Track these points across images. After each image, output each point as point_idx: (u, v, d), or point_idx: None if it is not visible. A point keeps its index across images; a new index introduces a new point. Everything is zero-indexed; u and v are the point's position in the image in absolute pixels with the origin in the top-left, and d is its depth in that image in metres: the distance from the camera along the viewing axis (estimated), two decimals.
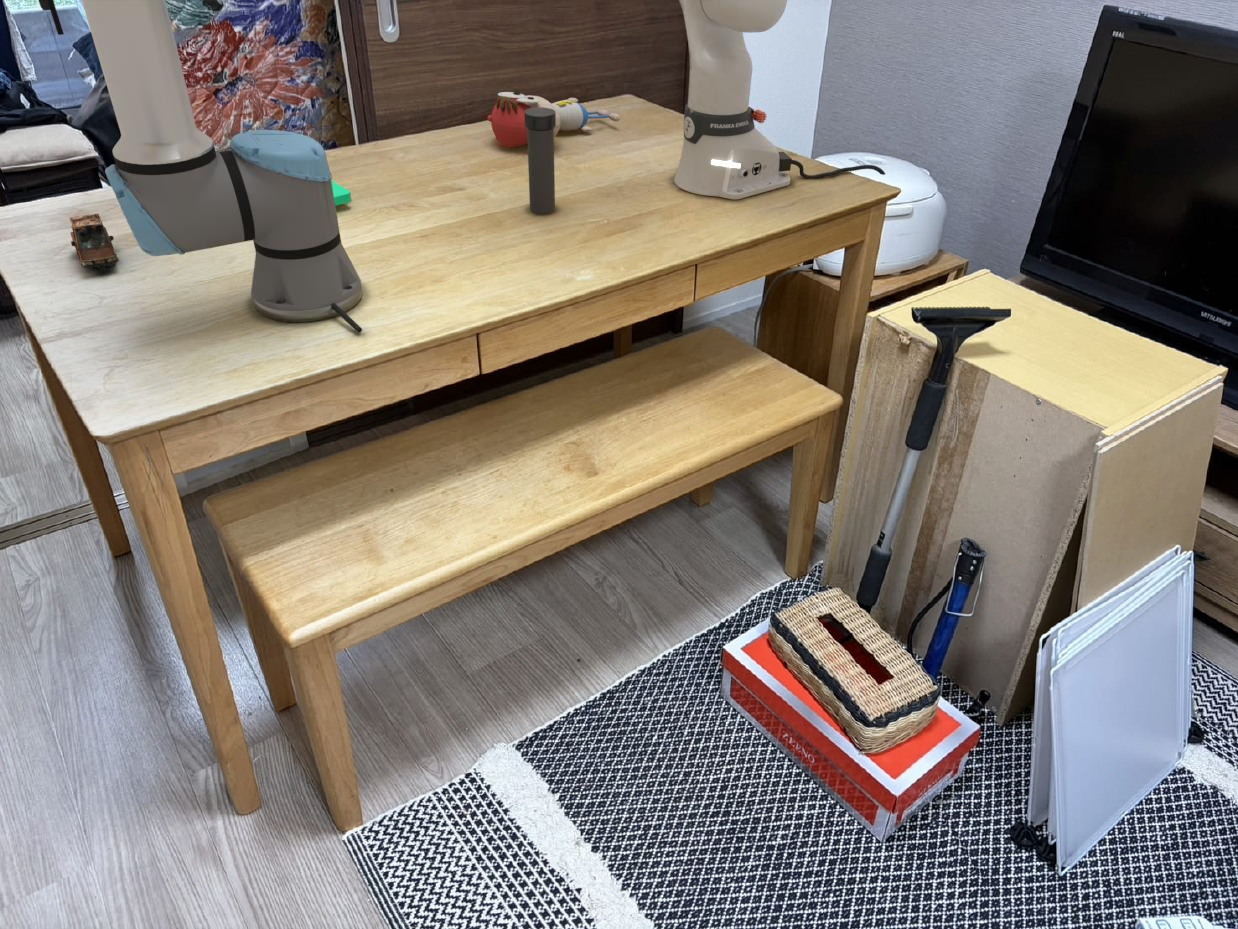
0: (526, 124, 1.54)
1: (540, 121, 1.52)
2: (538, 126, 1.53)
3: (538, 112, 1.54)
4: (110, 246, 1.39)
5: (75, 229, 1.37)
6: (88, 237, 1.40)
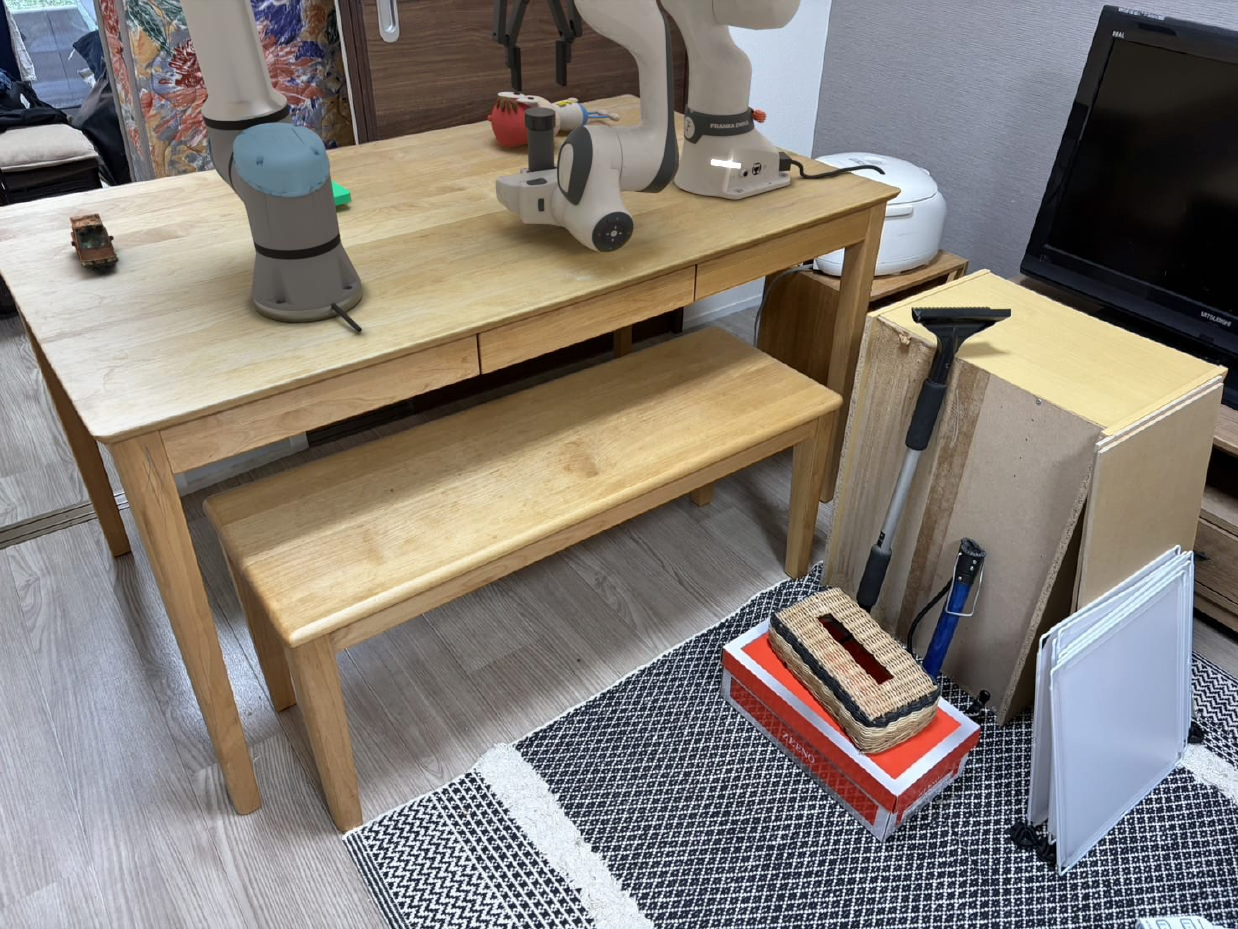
0: (526, 124, 1.54)
1: (540, 121, 1.52)
2: (538, 126, 1.53)
3: (538, 112, 1.54)
4: (110, 246, 1.39)
5: (75, 229, 1.37)
6: (88, 237, 1.40)
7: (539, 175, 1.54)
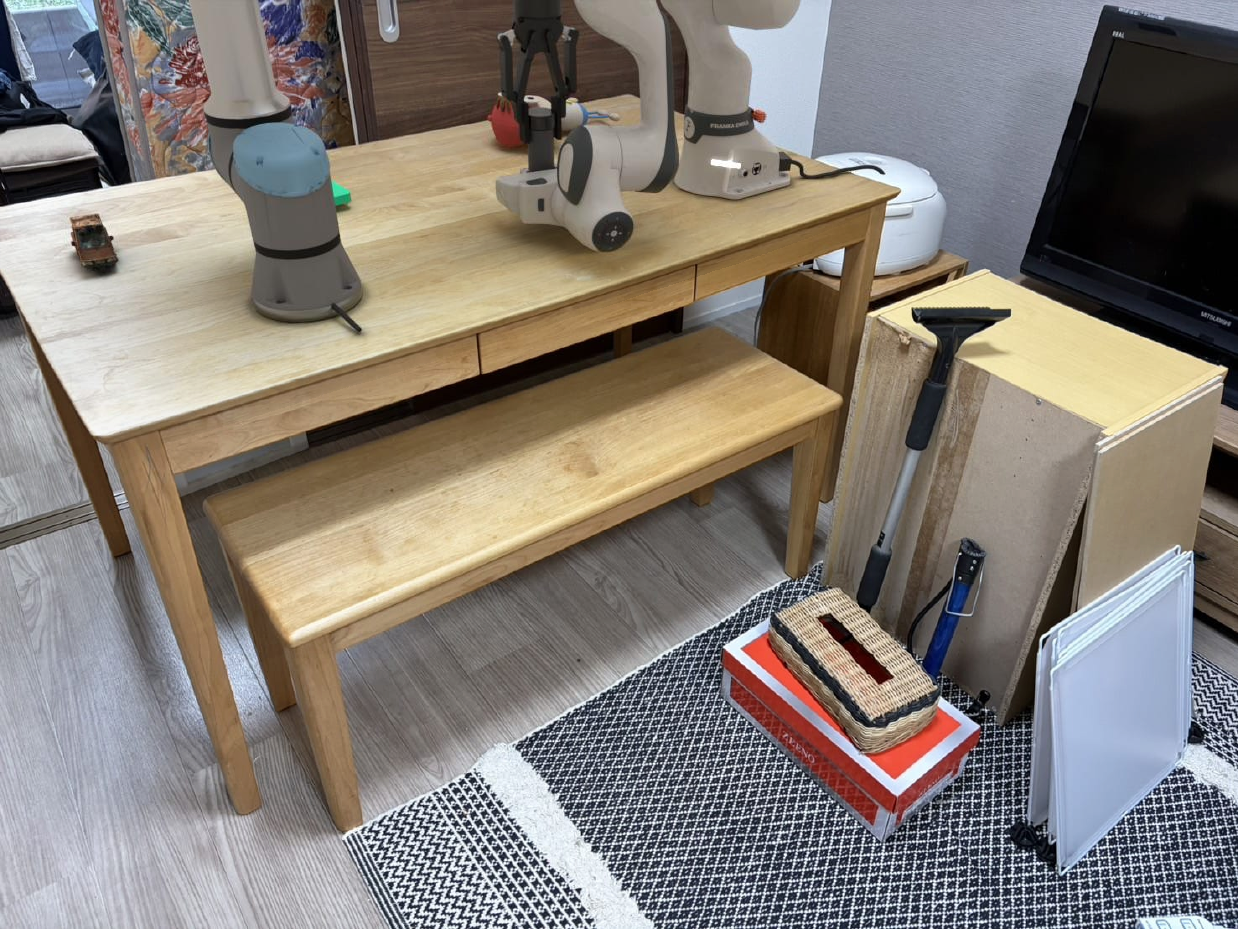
0: None
1: (540, 121, 1.52)
2: (538, 126, 1.53)
3: (538, 112, 1.54)
4: (110, 246, 1.39)
5: (75, 229, 1.37)
6: (88, 237, 1.40)
7: (539, 175, 1.54)
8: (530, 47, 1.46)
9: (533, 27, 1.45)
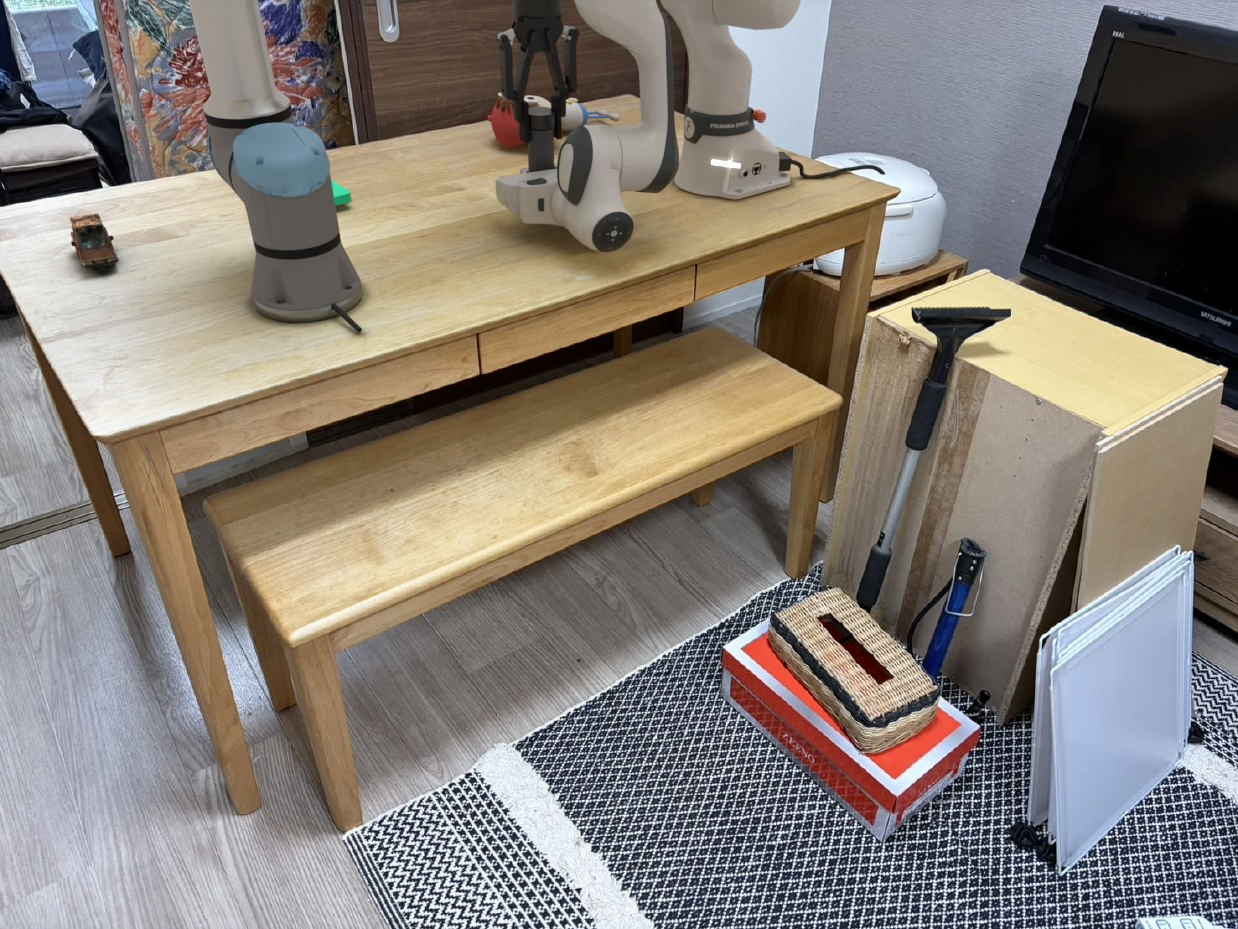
0: (548, 125, 1.53)
1: None
2: (555, 121, 1.55)
3: (542, 111, 1.54)
4: (110, 246, 1.39)
5: (75, 229, 1.37)
6: (88, 237, 1.40)
7: (539, 175, 1.54)
8: (530, 46, 1.46)
9: (533, 26, 1.45)
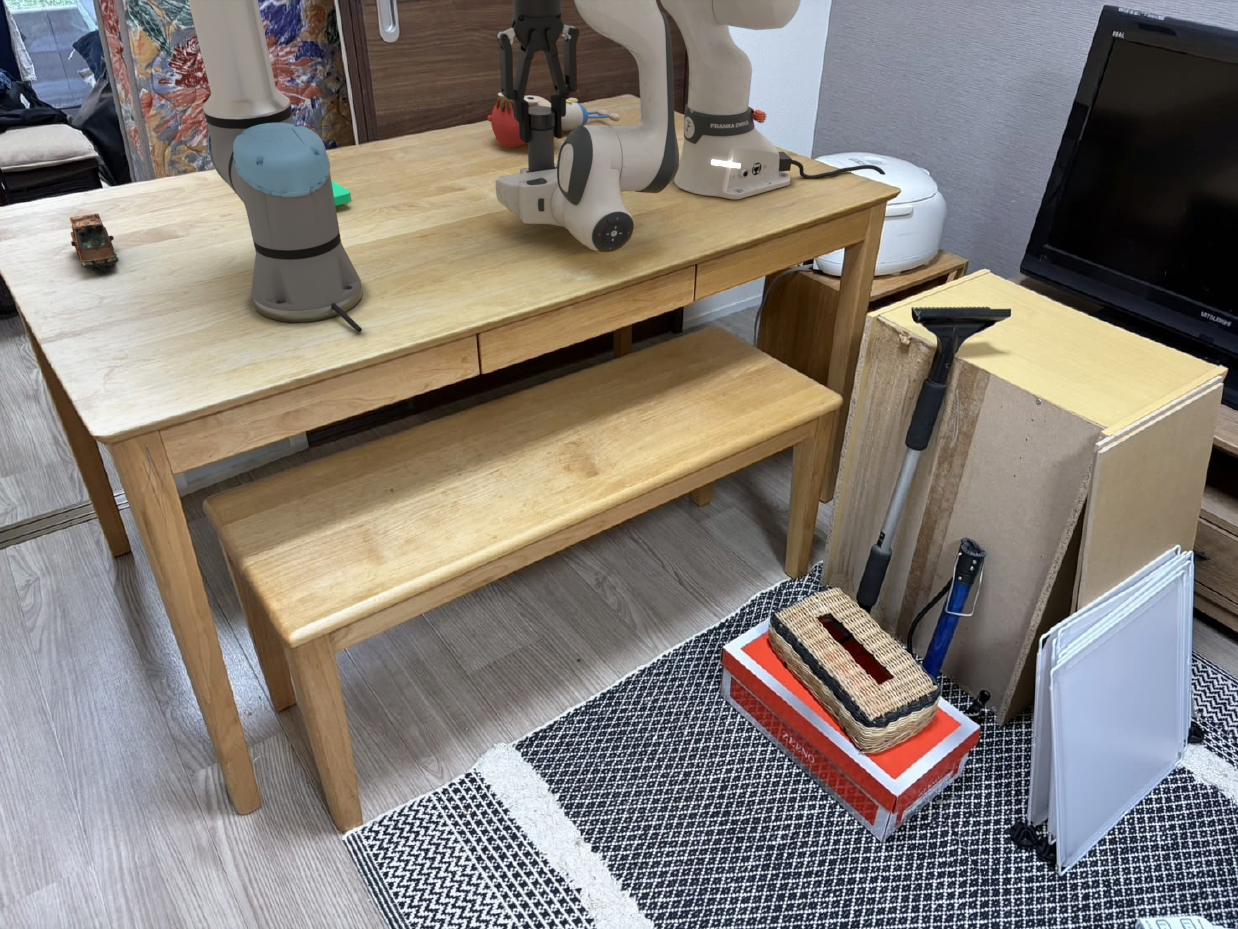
0: None
1: None
2: None
3: (541, 109, 1.54)
4: (110, 246, 1.39)
5: (75, 229, 1.37)
6: (88, 237, 1.40)
7: (539, 175, 1.54)
8: (530, 46, 1.46)
9: (533, 25, 1.45)
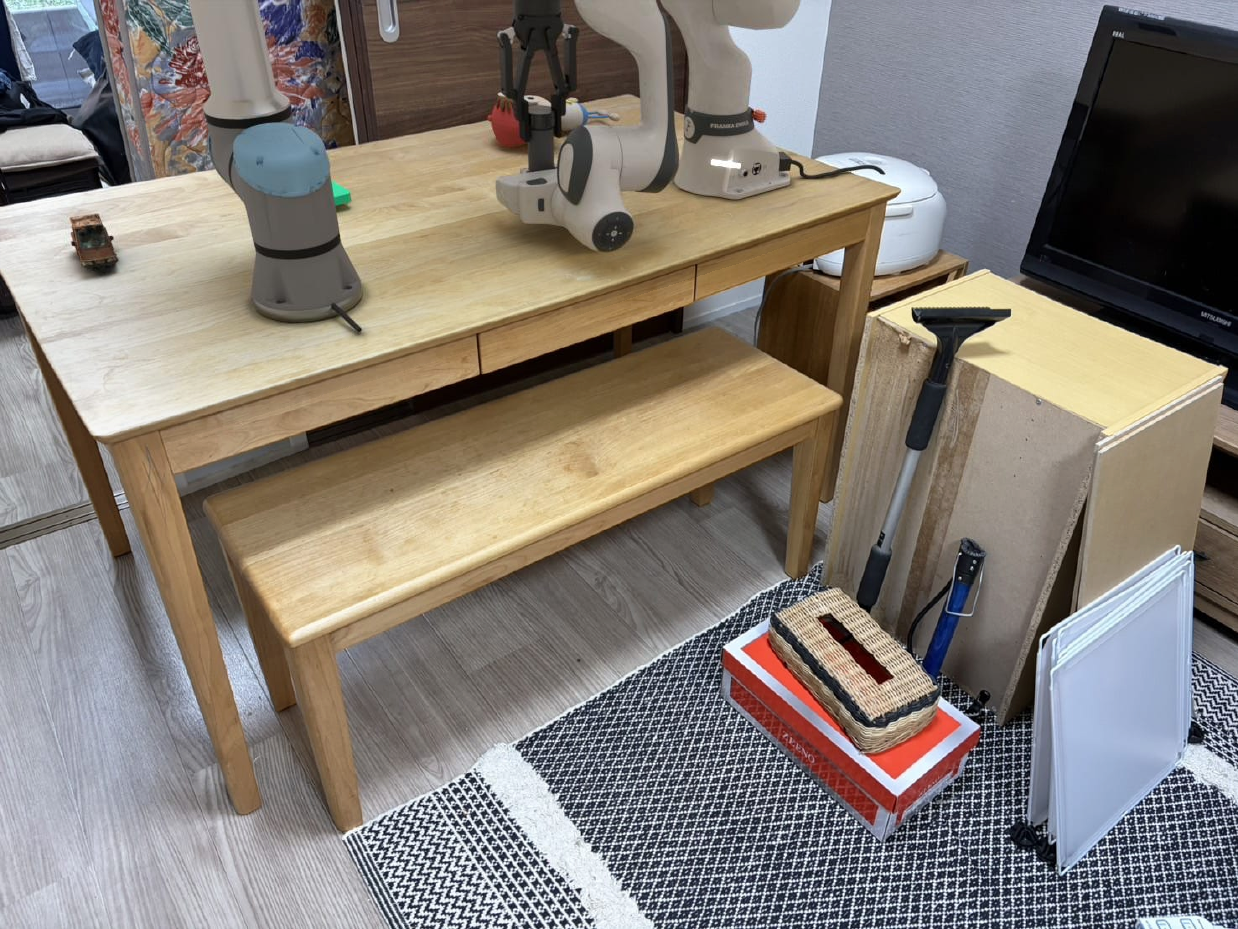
0: None
1: None
2: None
3: (537, 109, 1.54)
4: (110, 246, 1.39)
5: (75, 229, 1.37)
6: (88, 237, 1.40)
7: (539, 175, 1.54)
8: (530, 45, 1.46)
9: (532, 24, 1.45)
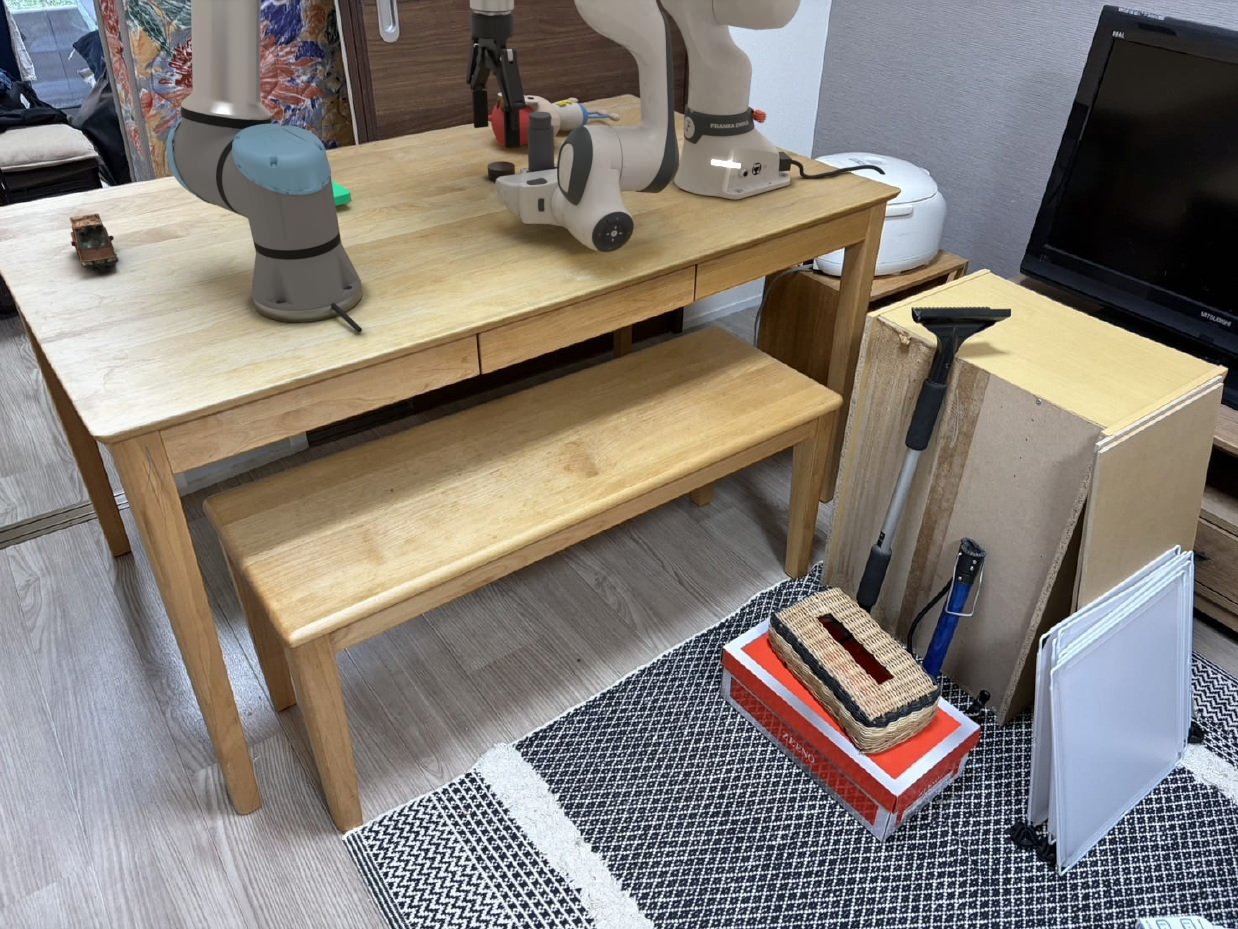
0: (491, 178, 1.75)
1: (505, 174, 1.74)
2: None
3: (500, 166, 1.75)
4: (110, 246, 1.39)
5: (75, 229, 1.37)
6: (88, 237, 1.40)
7: (539, 175, 1.54)
8: None
9: None
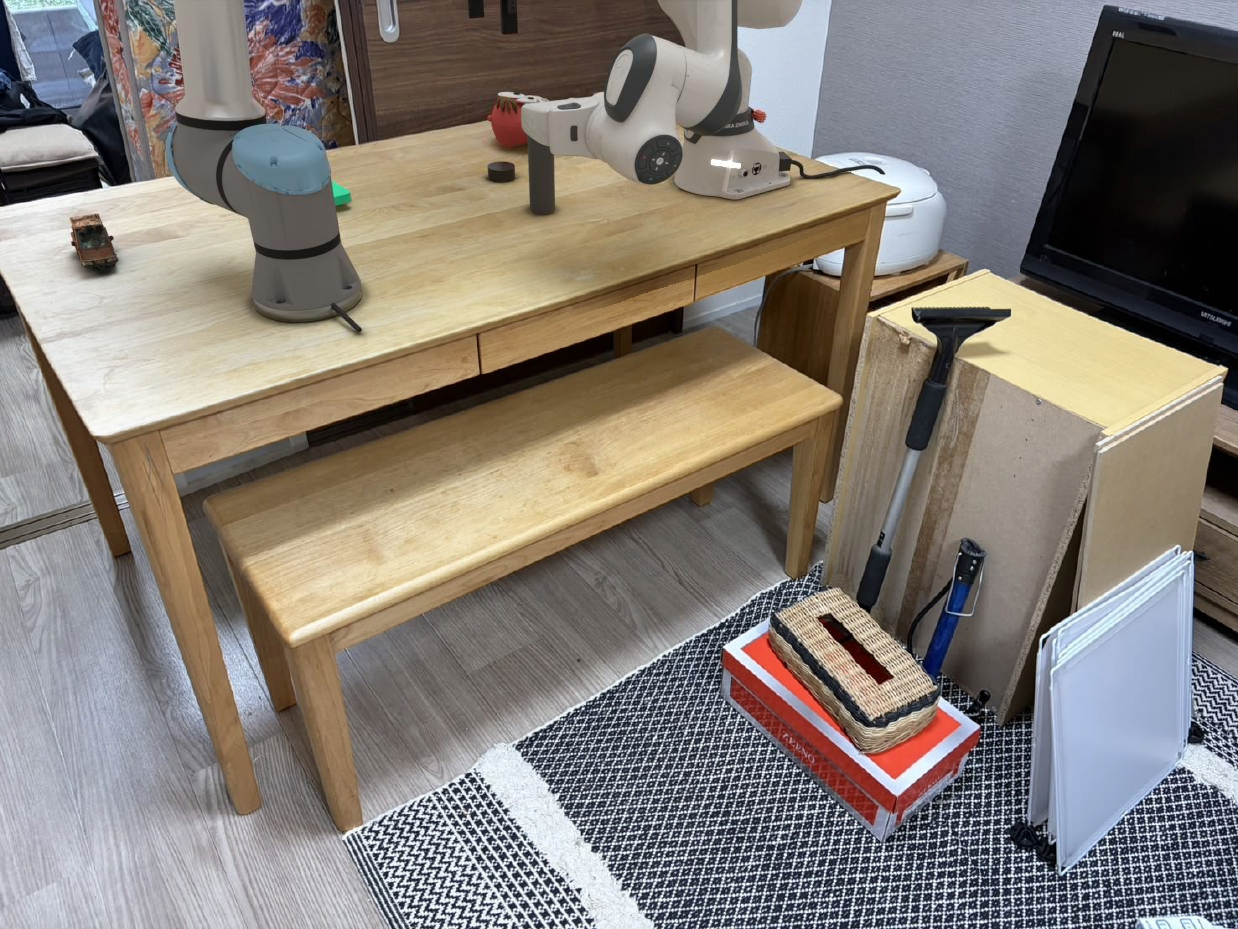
0: (491, 178, 1.75)
1: (505, 174, 1.74)
2: (503, 178, 1.74)
3: (500, 166, 1.75)
4: (110, 246, 1.39)
5: (75, 229, 1.37)
6: (88, 237, 1.40)
7: (570, 102, 1.35)
8: None
9: None
